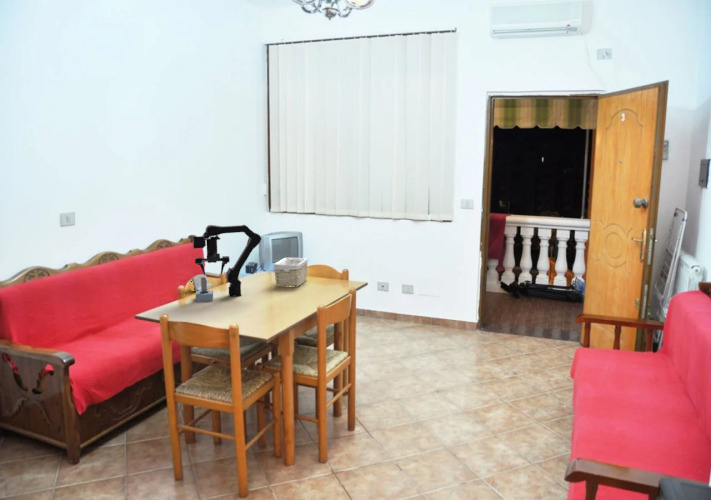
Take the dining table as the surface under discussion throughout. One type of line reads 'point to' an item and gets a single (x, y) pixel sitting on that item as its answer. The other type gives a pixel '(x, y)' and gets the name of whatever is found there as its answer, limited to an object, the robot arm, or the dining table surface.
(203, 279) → the peg
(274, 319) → the dining table surface
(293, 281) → the storage basket
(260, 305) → the dining table surface
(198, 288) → the hinge
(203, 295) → the hole block
